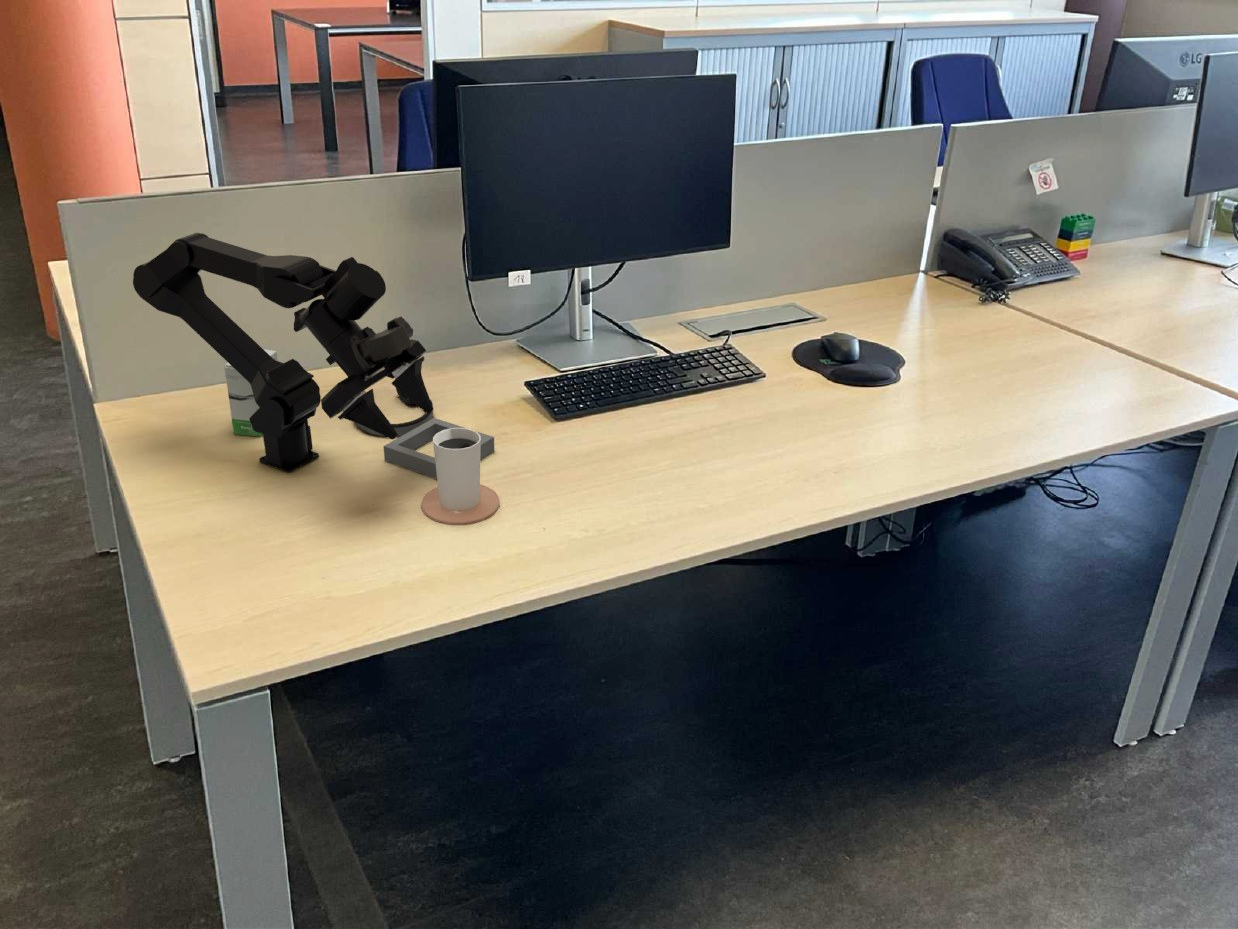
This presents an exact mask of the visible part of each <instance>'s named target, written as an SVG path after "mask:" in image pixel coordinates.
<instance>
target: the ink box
mask: <svg viewBox="0 0 1238 929" xmlns="http://www.w3.org/2000/svg"><path fill="white" fill-rule="evenodd" d="M262 349H263V348H262ZM263 350H264V351H266V352H267V353H268V354H269V355H270V356H271V357H272V358H273V359H274V360H276V361H278V351H276V350H272V349H271V350H270V349H265V348H264V349H263ZM224 374H225V380H226V387H227V395H228V400H229V409H230V417H231V423H232V429H233V430H232V431H233V434H234V435H243V436H251V437H263V433H259V432H255V431H254V429H253V427H252V425H251V422H250V420H249V418H250V417H251V416H252V415H253V414H254V413H255V412H256V411H257V410H258V409H259V408H260V407H259V406H258V405H257V404H256V402H255V399H254V395H253V391H252V388H251V384H250V383H249V382H248V381H247V380H246V379H245V378H244V377H243V376H242V375H241V374H240V373H239V372H238V371H237V370H235V369H234V368H233V367H232V366H231V365H230V364H229V363H228V362H226V363H225V365H224Z"/></svg>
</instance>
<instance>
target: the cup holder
mask: <svg viewBox="0 0 1238 929" xmlns="http://www.w3.org/2000/svg"><path fill="white" fill-rule="evenodd" d="M450 428H466V429H469V428H468V427H465V426H461V425H459V424H454V423H452V422H448V421H445V420H442V419H440V418H436V417H433V419H431V420H430V421H428V422H426V423H424V424H422V425H421V426H419V427H417V428H415V429H413V430H412V431H410V432H408V433H406V434H404V435H403V436H401V437H396V438H395V439H393V440H392V441H390V442H388V443H387V444H384V445H383V456H384V461H385V462H388V463H390V464H392V465H393V464H394V465H396V466H399V467H402V468H405V469H408V470H410V471H413V472H416V473H419V474H421V475H425V476H428V477H430V478H434V479H435V480H437V472H436V463H435V456H431V455H428V454H425V453H422V452H419V451H416V450H418V449H419V448H420V447H422V446H424V445H426V444H428V443H429V442H432V441H433V437H434V436H435V435H436V434H437V433H438V432H440V431H442V430H446V429H450ZM472 430H473V429H472ZM473 431H476V432H477V433H478V434H479V435H480V438H481V451H480V461H482V460H483V459H485V458H486V457H487V456H489V455H491V454H492V453H494V452H495V437H494V436H493V435H489V434H486V433H484V432H480V431H477V430H473Z"/></svg>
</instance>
